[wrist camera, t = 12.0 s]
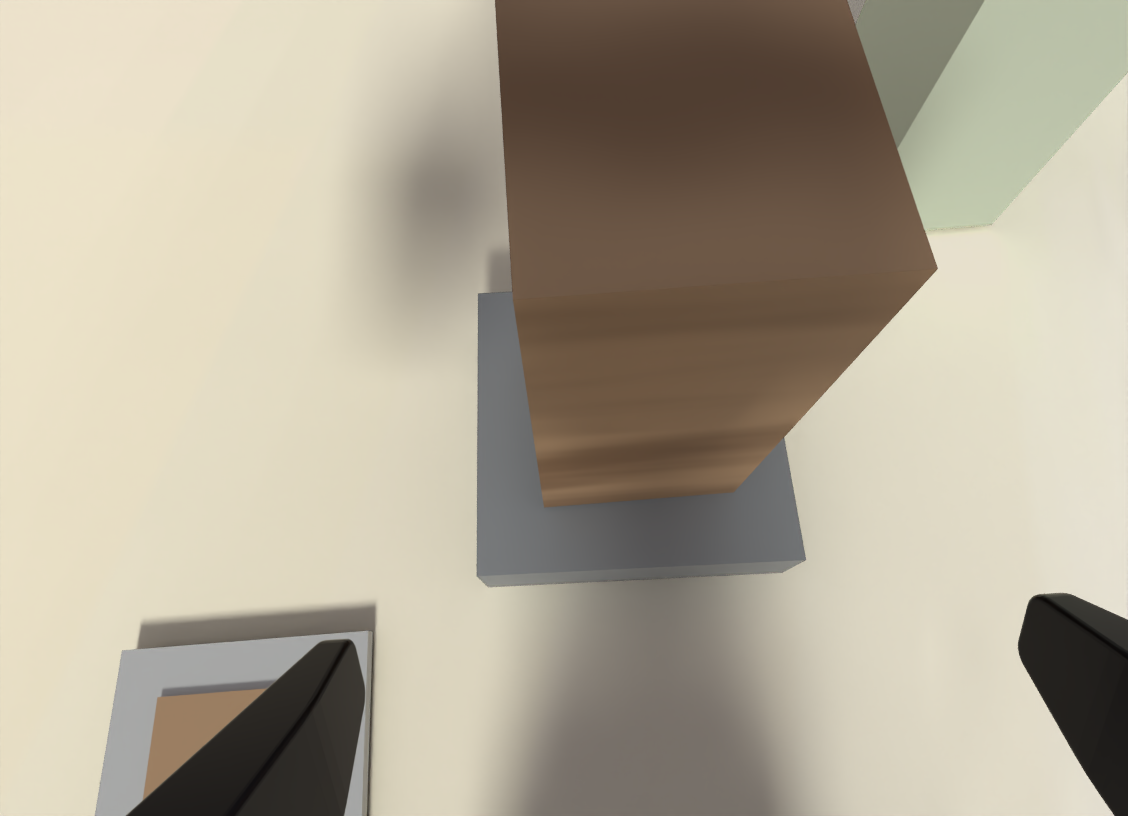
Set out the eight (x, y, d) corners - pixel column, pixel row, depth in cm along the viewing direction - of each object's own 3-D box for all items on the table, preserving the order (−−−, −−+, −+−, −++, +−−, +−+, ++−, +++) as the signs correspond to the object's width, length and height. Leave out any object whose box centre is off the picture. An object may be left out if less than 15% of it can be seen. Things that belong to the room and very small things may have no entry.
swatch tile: (363, 925, 19) (355, 934, 18) (84, 947, 19) (66, 957, 18) (372, 631, 22) (366, 630, 21) (131, 650, 22) (118, 650, 21)
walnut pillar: (733, 492, 21) (937, 268, 9) (543, 507, 21) (512, 300, 9) (704, 325, 23) (838, -24, 12) (531, 337, 23) (494, -2, 11)
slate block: (778, 574, 23) (805, 559, 20) (489, 588, 23) (476, 576, 20) (737, 319, 27) (755, 278, 24) (489, 333, 27) (478, 293, 24)
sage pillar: (991, 225, 27) (1288, -108, 16) (845, 236, 27) (1036, -88, 16) (948, 114, 30) (1181, -248, 18) (814, 125, 30) (960, -230, 18)
